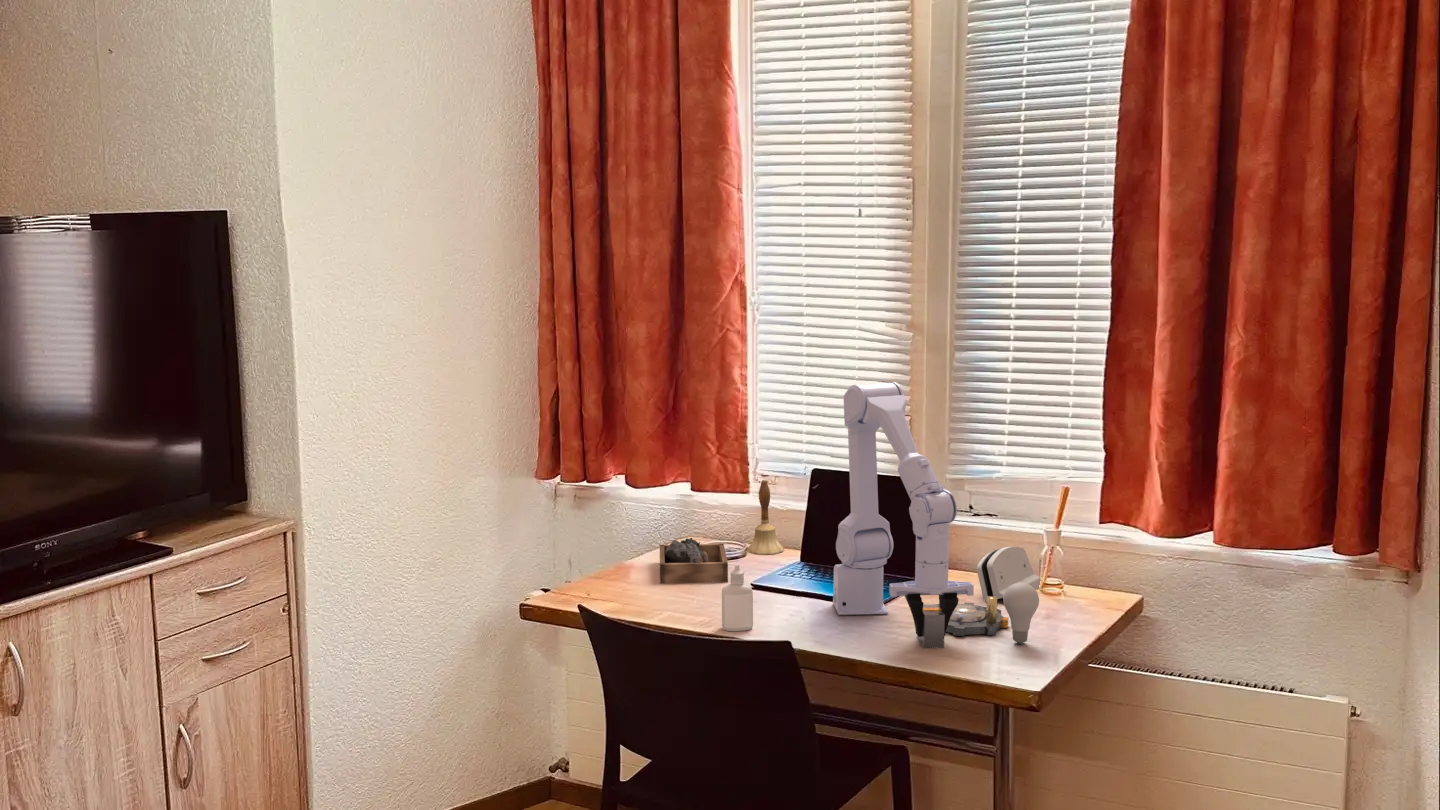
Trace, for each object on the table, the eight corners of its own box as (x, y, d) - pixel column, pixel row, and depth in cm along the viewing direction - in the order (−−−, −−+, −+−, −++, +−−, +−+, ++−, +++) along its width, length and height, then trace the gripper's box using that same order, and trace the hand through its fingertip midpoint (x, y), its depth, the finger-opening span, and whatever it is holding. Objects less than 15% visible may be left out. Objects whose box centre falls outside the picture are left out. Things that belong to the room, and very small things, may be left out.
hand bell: (744, 554, 282) (743, 484, 279) (751, 544, 290) (750, 477, 287) (780, 555, 280) (780, 485, 277) (786, 546, 288) (786, 478, 285)
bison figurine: (696, 581, 259) (731, 568, 266) (693, 549, 258) (728, 536, 265) (658, 571, 268) (693, 558, 275) (655, 540, 267) (690, 527, 273)
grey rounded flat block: (1006, 605, 243) (991, 555, 244) (985, 609, 246) (970, 559, 246) (1043, 585, 256) (1029, 538, 256) (1022, 589, 259) (1008, 542, 259)
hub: (948, 630, 228) (948, 615, 228) (939, 617, 235) (939, 603, 235) (989, 629, 228) (990, 614, 228) (979, 616, 236) (979, 602, 235)
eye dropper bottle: (747, 633, 227) (747, 569, 225) (718, 630, 229) (718, 566, 227) (755, 626, 231) (755, 563, 229) (727, 623, 233) (727, 560, 231)
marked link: (924, 648, 219) (924, 614, 218) (916, 637, 224) (917, 604, 224) (944, 648, 219) (944, 613, 218) (936, 636, 225) (937, 603, 224)
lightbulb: (997, 638, 223) (999, 578, 222) (1031, 637, 224) (1032, 577, 222) (1008, 650, 217) (1009, 588, 216) (1042, 649, 218) (1044, 587, 216)
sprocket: (981, 641, 221) (981, 609, 220) (906, 624, 231) (907, 593, 230) (1021, 620, 233) (1022, 590, 232) (948, 604, 243) (949, 575, 242)
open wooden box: (660, 583, 259) (659, 564, 258) (659, 562, 275) (659, 544, 274) (727, 582, 259) (727, 563, 259) (723, 561, 275) (723, 543, 275)
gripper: (895, 566, 215) (894, 643, 217) (978, 565, 216) (976, 641, 218) (887, 556, 222) (886, 630, 224) (968, 554, 223) (966, 628, 225)
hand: (930, 634), depth 221 cm, fingers closed on marked link, 3 cm apart
